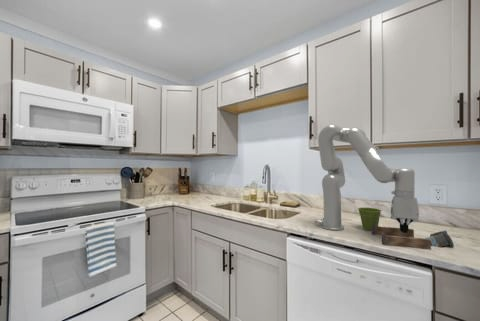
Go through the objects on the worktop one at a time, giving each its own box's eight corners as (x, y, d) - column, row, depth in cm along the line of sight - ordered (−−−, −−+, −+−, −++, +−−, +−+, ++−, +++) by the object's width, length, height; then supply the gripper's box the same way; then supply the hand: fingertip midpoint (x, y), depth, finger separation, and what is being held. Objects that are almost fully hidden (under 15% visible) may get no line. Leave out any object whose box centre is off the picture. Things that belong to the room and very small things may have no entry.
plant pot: (356, 225, 129) (356, 206, 129) (379, 227, 125) (378, 208, 125) (360, 231, 118) (359, 210, 118) (385, 233, 114) (384, 212, 114)
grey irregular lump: (415, 239, 106) (423, 227, 98) (429, 235, 106) (438, 223, 98) (431, 258, 99) (442, 247, 91) (446, 254, 99) (458, 242, 91)
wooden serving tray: (383, 244, 97) (382, 234, 97) (372, 233, 114) (371, 224, 114) (431, 249, 92) (430, 238, 92) (412, 236, 108) (412, 227, 108)
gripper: (389, 194, 101) (388, 232, 101) (427, 196, 97) (427, 236, 97) (383, 192, 108) (383, 228, 108) (419, 194, 104) (418, 231, 104)
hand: (403, 232), depth 102 cm, fingers closed
